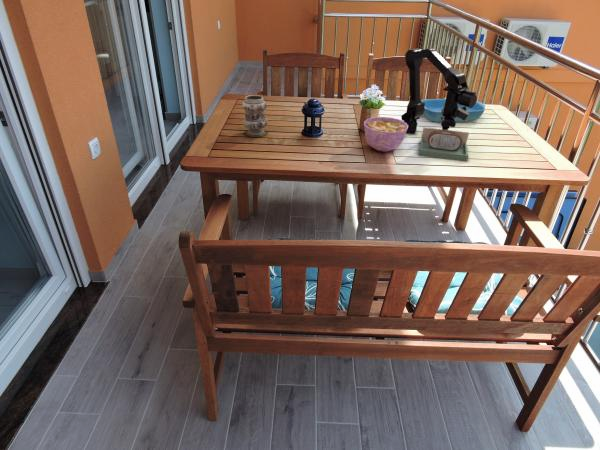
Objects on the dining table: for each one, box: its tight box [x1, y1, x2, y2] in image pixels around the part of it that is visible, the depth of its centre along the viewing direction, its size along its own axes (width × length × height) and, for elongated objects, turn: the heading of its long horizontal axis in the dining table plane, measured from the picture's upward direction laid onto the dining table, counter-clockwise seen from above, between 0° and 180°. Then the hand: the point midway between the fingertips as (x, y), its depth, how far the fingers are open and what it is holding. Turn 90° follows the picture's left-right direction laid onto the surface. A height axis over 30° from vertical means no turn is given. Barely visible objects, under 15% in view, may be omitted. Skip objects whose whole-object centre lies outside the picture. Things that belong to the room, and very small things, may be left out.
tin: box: [428, 130, 462, 151], centre depth 191 cm, size 15×3×8 cm, turn 73°
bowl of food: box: [363, 116, 408, 153], centre depth 192 cm, size 20×20×12 cm
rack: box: [418, 127, 470, 162], centre depth 192 cm, size 21×16×8 cm
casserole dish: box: [420, 98, 486, 123], centre depth 232 cm, size 37×22×7 cm, turn 97°
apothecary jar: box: [241, 94, 269, 138], centre depth 203 cm, size 12×12×18 cm
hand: (444, 134), depth 199 cm, fingers closed
